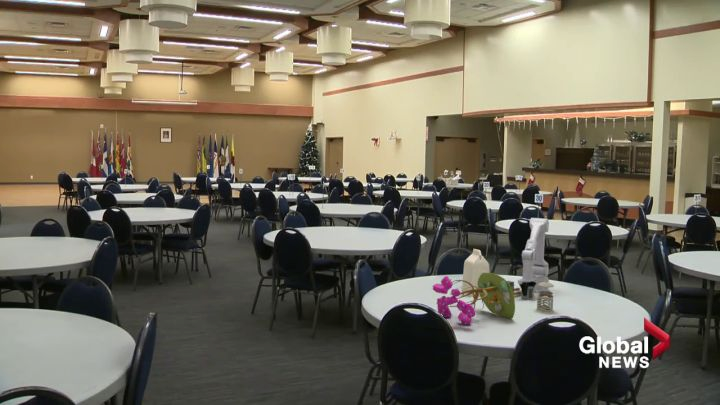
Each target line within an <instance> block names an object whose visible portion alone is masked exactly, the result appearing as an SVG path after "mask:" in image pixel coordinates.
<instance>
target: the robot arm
mask: <svg viewBox="0 0 720 405" xmlns="http://www.w3.org/2000/svg"><path fill="white" fill-rule="evenodd" d="M549 224H550V223H549V219H548V218H540V217H531V218H530V220H529V228H530V230H531V231H530V237H529V238H528V239H527V241H526V244H525V248H524V250H522V251H521V263H522V278H521V279H518V280H517V284H518V285H519V288H520V290H522V294H523V296H526V295H527V289H528V286H532V287H533V289H534V288H535V290H534V292H535V293H538V292H540V291H546V292H547V291H548V292H551V291H550V289H549V287H541V286H538V284H539V283H541V282H549V283H550V280H549V277H548V276H549V273H550V272H549V271H550V270H549V266H547V276H546V266H545V264H546V263H547V264H549V263H548V262H547V261H546V260H545V258H544V257H545V242H546V240H545V238H546V237H545V236H546V233H548V232H549V228H550V225H549ZM536 287H538V288H536Z"/></svg>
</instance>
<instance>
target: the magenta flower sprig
mask: <svg viewBox="0 0 720 405" xmlns="http://www.w3.org/2000/svg"><path fill="white" fill-rule="evenodd" d="M507 281H508V280H506V279H505V278H504V277H502V276H501V275H498V274H496V273H493V272H489V273H482V274H481V275H480V277H479V279H478V288H477V287H476V286H473V285H472V284H471V283H469V282H467V281H464V280H463V279H456V280H453V281H452V279H451V278H449V276H448V275H445V276H443V278H442V279H441V280H440V283H435V284H433V285H432V290H433V291H434V292H435V293H437V294H443V296H441V297H438V298H436V305H437V313H438V314H439V313H440V314H442V315H443V316H444V318H445V319H449V318H451V317H452V316H453V315H452V312H451V309H450V308H457V309H458V311H459V312H460V313H458V316H457V319H458V321H459V322H460V323H462V324H463V325H470V324H471V323H472V322H473V318H474V317H475V316H476V303H477V301H480V300H481V303H482V304H483V305H482V308H477V310H483V309H484V308H485V307H486V308H487V309H488V311H489V312H491V313H492V314H494V315H497V316H501V317H503V318H506V319H507V318H508V319H510V320H511V319H513V318H514V316H515V312H516V300H515V297H514V293H513V290H512V288H511V286H510V284H509V283H508V282H507ZM459 282H462V283H463V282H466V283H468V284H469V285H470V286H471V287H472V290H467V291H463V290H462V289H461V290H459V289H458V288H452V286H453V285H455V284H457V283H459ZM474 287H476V288H477V289H474ZM468 288H470V287H468ZM466 289H467V288H466ZM449 290H451V291H450V293H449V294H450V295H451V296H446V295H448V291H449ZM464 290H465V289H464ZM462 291H463V292H462ZM474 292H475V294H474ZM464 293H468V294H467V295H465V294H464ZM470 294H473V298H472V299H473V300H469V301H468V302H465V301H464V300H462V299H461V298H464V297H465V298H466V297H469V296H468V295H470ZM479 295H480V297H478V296H479ZM454 304H456V305H454ZM440 314H439V315H440ZM442 315H441V316H442ZM443 316H442V317H443Z"/></svg>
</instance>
